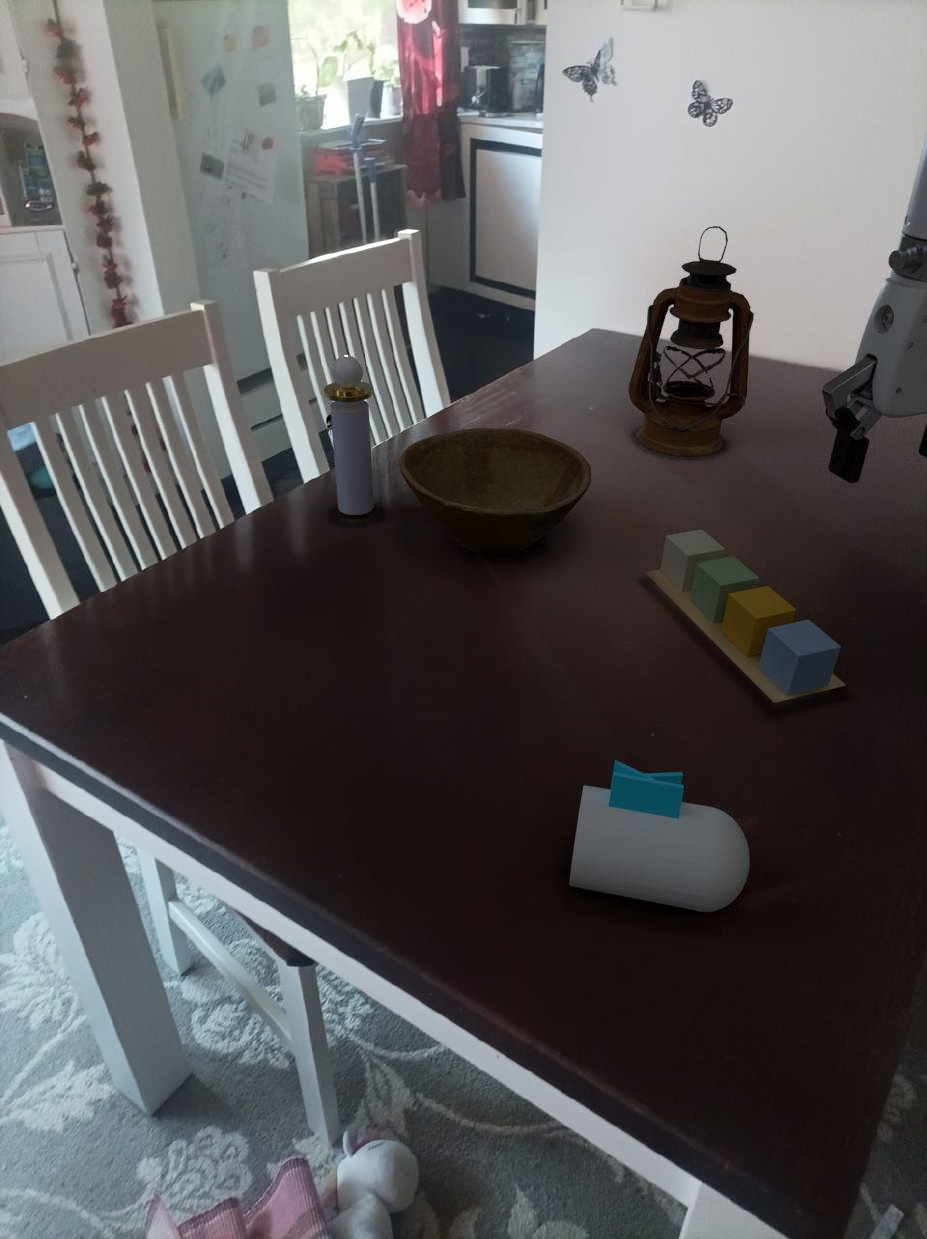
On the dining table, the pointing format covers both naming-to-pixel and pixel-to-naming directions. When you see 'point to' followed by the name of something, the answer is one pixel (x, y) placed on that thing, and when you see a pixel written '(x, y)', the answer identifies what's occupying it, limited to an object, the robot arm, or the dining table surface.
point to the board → (730, 643)
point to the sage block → (719, 585)
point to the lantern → (700, 311)
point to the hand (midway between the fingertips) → (888, 468)
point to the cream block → (687, 556)
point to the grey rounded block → (657, 844)
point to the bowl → (495, 485)
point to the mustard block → (754, 617)
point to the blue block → (798, 657)
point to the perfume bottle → (351, 436)
